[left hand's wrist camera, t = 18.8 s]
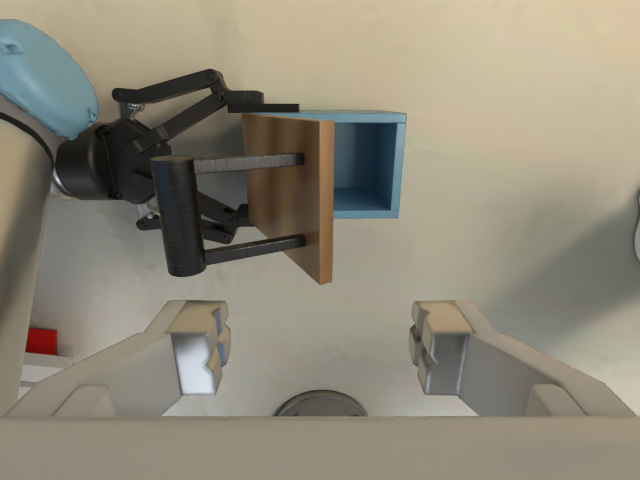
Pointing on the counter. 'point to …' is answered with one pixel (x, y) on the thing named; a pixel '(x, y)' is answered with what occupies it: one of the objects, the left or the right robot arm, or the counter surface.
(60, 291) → the counter surface
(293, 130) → the lid
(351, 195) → the chest
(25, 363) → the toy
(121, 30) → the counter surface
